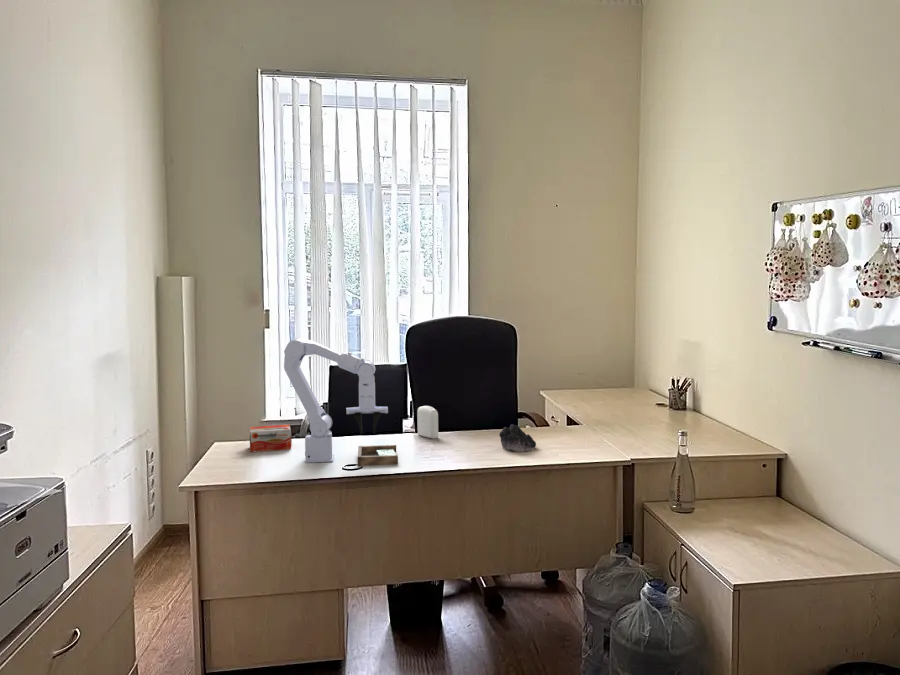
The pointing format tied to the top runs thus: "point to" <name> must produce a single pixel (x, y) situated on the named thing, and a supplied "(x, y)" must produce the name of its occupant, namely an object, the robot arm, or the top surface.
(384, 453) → the cover plate
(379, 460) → the walnut box
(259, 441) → the medicine box
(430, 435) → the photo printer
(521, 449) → the crystal cluster
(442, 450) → the top surface
